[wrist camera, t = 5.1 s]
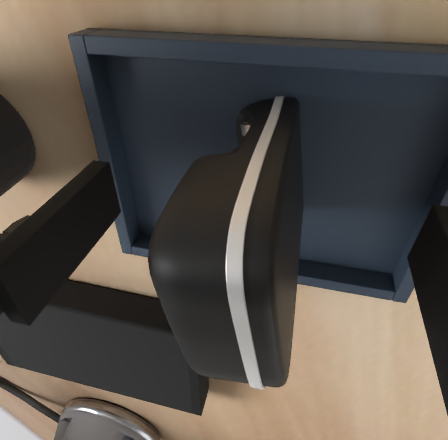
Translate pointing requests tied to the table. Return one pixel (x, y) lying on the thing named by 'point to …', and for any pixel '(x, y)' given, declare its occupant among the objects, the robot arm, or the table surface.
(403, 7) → the table surface
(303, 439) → the table surface
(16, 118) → the travel mug
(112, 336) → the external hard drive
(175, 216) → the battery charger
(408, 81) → the tray
